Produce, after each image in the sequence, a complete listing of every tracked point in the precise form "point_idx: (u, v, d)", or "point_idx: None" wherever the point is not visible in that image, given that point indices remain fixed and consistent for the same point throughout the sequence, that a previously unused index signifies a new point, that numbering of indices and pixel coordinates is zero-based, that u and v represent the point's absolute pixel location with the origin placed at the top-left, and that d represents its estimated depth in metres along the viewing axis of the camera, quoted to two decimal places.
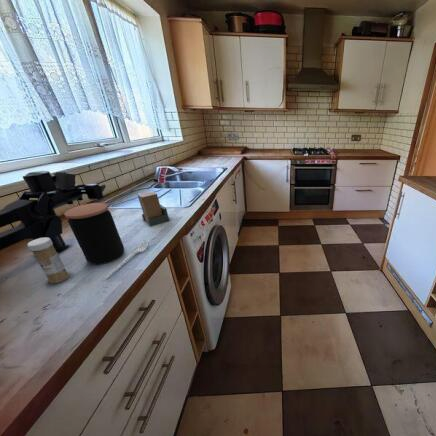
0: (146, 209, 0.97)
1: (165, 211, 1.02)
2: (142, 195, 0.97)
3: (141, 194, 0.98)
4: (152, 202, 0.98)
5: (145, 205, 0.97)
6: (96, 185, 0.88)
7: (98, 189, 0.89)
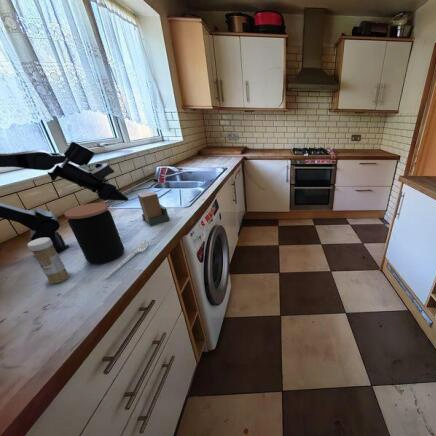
0: (146, 209, 0.97)
1: (165, 211, 1.02)
2: (142, 195, 0.97)
3: (141, 194, 0.98)
4: (152, 202, 0.98)
5: (145, 205, 0.97)
6: (112, 185, 0.81)
7: (109, 189, 0.81)
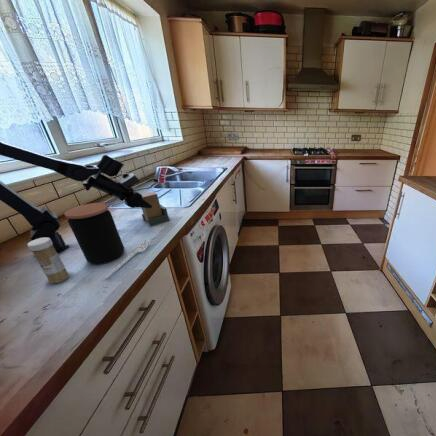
0: (146, 209, 0.97)
1: (165, 211, 1.02)
2: (142, 195, 0.97)
3: (141, 194, 0.98)
4: (152, 202, 0.98)
5: None
6: (139, 194, 0.88)
7: (136, 198, 0.88)
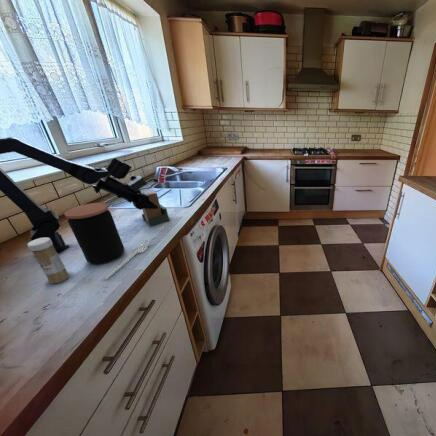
0: None
1: (165, 211, 1.02)
2: None
3: None
4: (151, 201, 0.98)
5: None
6: (147, 196, 0.91)
7: (144, 200, 0.90)
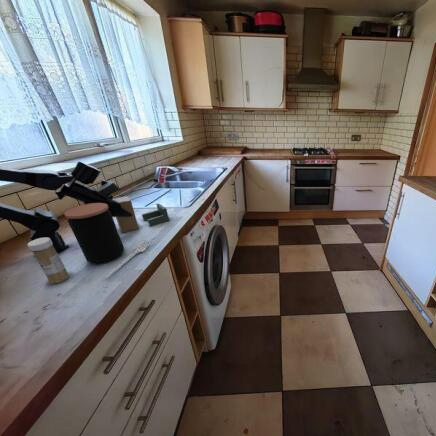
0: None
1: (165, 211, 1.02)
2: None
3: None
4: (125, 208, 0.91)
5: None
6: (117, 203, 0.84)
7: (114, 207, 0.84)
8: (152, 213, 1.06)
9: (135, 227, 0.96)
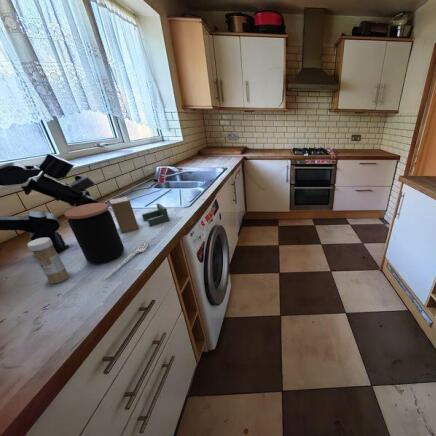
0: (117, 216, 0.91)
1: (165, 211, 1.02)
2: (113, 201, 0.90)
3: (113, 200, 0.91)
4: (124, 209, 0.91)
5: (116, 212, 0.90)
6: (90, 199, 0.78)
7: (87, 203, 0.78)
8: (152, 213, 1.06)
9: (135, 227, 0.96)
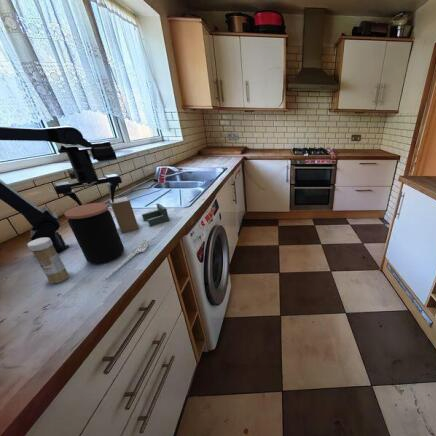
0: (117, 216, 0.91)
1: (165, 211, 1.02)
2: None
3: None
4: (124, 209, 0.91)
5: (116, 212, 0.90)
6: None
7: None
8: (152, 213, 1.06)
9: (135, 227, 0.96)
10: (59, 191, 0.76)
